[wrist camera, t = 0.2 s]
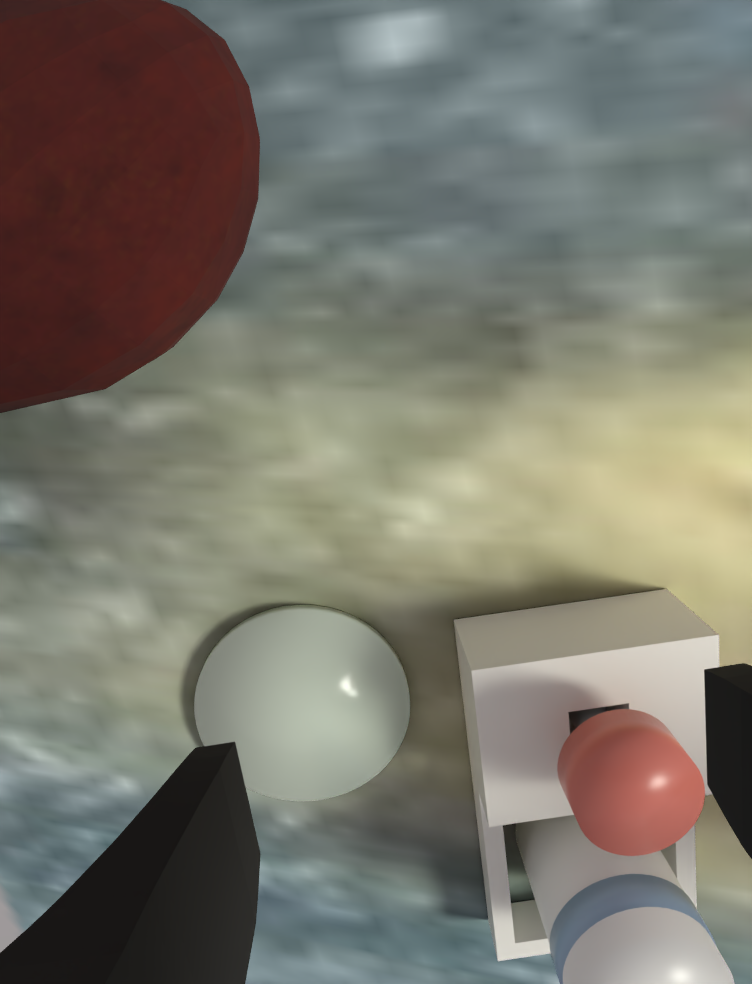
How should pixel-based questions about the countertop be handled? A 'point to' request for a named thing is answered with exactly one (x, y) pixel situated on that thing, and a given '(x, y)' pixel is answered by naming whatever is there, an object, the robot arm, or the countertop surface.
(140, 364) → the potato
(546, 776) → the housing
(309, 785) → the pale green dome
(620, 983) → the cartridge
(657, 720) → the plunger
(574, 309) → the countertop surface
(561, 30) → the countertop surface
